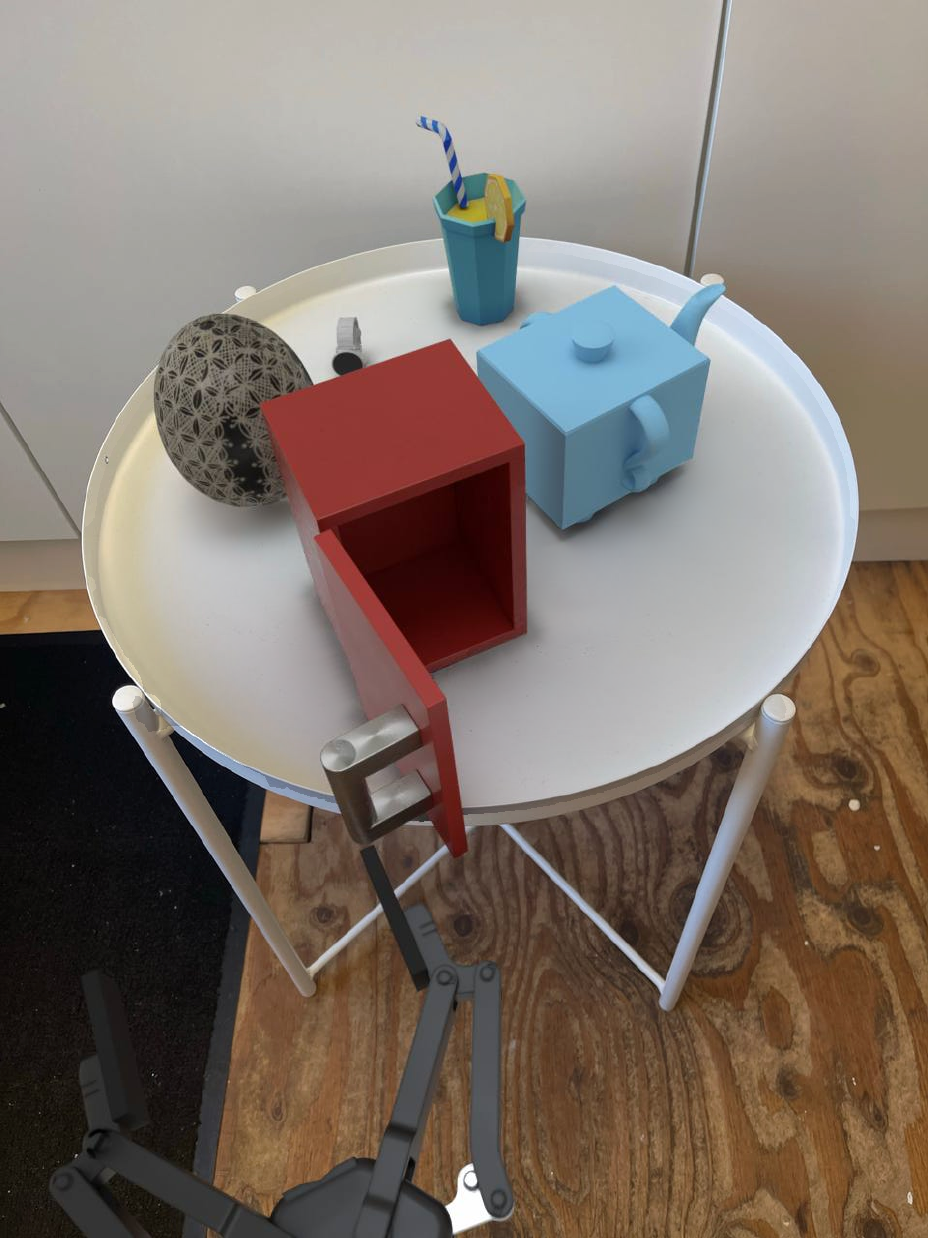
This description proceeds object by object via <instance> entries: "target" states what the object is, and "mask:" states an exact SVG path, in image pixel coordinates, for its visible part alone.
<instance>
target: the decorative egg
mask: <svg viewBox="0 0 928 1238" xmlns="http://www.w3.org/2000/svg"><path fill="white" fill-rule="evenodd" d="M312 385H315V384H314V382H313V380H312V377H311V375H310V374H309V373H308V371H307V368H306V367H305V365H304V363H303V361H302V360H301V359H300V357H299V356H298V354H297V353H296V352H295V351H294V349H293V348H292V347H291V346H290V345H289V344H288V343H287V342H286V341H285V340H284V339H283V338H282V337H281V336H279V334H277V333H276V332H275V331H273V330H272V329H270V328H269V327H267V326H266V325H264V324H262V323H259V322H258V321H256V320H254V319H252V318H248V317H245V316H241V315H238V314H232V313H213V314H208V315H204V316H199V317H198V318H196V319H194V320H192V321H190V322H188V323H187V324H185V325H184V326H183V327H181V328H180V330H178V332H177V333H176V334H174V336H173V337H172V338H171V339H170V340H169V342H168V343H167V345H166V347H165V349H164V350H163V352H162V354H161V357H160V360H159V362H158V365H157V368H156V371H155V377H154V383H153V408H154V409H153V410H154V411H153V412H154V415H155V422H156V426H157V431H158V435H159V437H160V440H161V443H162V445H163V447H164V450H165V453H166V454H167V456H168V458H169V459H170V461H171V463H172V464H173V465H174V467H175V468H176V470H177V471H178V473H179V474H180V475H181V477H183V479H184V480H185V481H186V482H187V483H188V484H189V485H191V486H192V487H193V488H194V489H196V490H197V491H198V492H200V493H201V494H202V495H205V496H207V498H210V499H211V500H214V501H215V502H219V503H222V504H224V505H229V506H232V507H238V508H259V507H265V506H267V505H271V504H274V503H276V502H277V503H278V502H280V501H282V500H284V499H286V498H288V497H287V494H286V490H285V487H284V484H283V481H282V477H281V474H280V471H279V467H278V464H277V461H276V458H275V454H274V451H273V448H272V444H271V441H270V438H269V435H268V431H267V428H266V425H265V421H264V417H263V415H262V412H261V408H260V405H259V404H260V403H262V402H265V401H268V400H271V399H274V398H277V397H280V396H283V395H286V394H289V393H292V392H295V391H297V390H300V389H303V388H306V387H309V386H312Z"/></svg>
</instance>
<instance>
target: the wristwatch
mask: <svg viewBox="0 0 928 1238" xmlns="http://www.w3.org/2000/svg"><path fill="white" fill-rule="evenodd" d="M361 337H362V331H361V329H360V326H359V320H358V317H357V316H347V317H339V318H338V319H337V323H336V347H335V354H334V355H333V356H332V358H331V362H330V363H331V367H332V371H334V373H336V375H338V377H339V376H341V375H344V374H347V373H350V372H353V371H356V370H359V369H362V368H365V365H367V360H364V358H363V350H362V349H363V347H362V346H363V345H362V338H361Z"/></svg>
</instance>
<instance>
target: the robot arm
mask: <svg viewBox="0 0 928 1238" xmlns="http://www.w3.org/2000/svg"><path fill="white" fill-rule="evenodd" d="M359 853H360V856H361V859H362V862H363V864H364V866H365V869H366V872H367V874H368V877H369V879H370V882H371V884H372V886H373V889H374V892H375V894H376V896H377V898H378V900H379V903H380V906H381V908H382V910H383V913H384V915H385V918H386V920H387V922H388V925H389V928H390V930H391V933H392V934H393V937H394V939H395V942H396V944H397V946H398V949H399V951H400V954H401V956H402V958H403V961H404V964H405V966H406V968H407V970H408V973H409V976H410V977H411V981H412V983H413V985H414V987H415V990H416V992H417V993H420V992H422V991H423V990H425V989H426V993H425V996H424V1001H423V1004H422V1007H421V1011H420V1014H419V1018H418V1021H417V1025H416V1028H415V1031H414V1035H413V1038H412V1042H411V1046H410V1048H409V1052H408V1056H407V1059H406V1062H405V1065H404V1069H403V1073H402V1076H401V1080H400V1084H399V1086H398V1091H397V1093H396V1097H395V1101H394V1104H393V1107H392V1111H391V1115H390V1118H389V1121H388V1123H387V1126H386V1127H385V1130H384V1132H383V1135H382V1138H381V1142H380V1145H379V1148H378V1152H377V1154H376V1155H377V1156H376V1159H375V1158H372V1157H355V1155H353V1156H351V1157H349V1158H347V1159H345V1160H344V1161H342V1162H340V1163H338V1164H335V1166H334V1167H332V1168H331V1169H330V1170H329V1171H328V1172H327V1173H326V1174H325V1175H323V1176H322V1177H321V1178H320V1179H318V1180H313V1181H308V1182H302V1183H299V1184H297V1185H295V1186H293V1187H291V1188H290V1189H289V1188H288V1189H287V1190H286V1191H284V1192H282V1197H280V1199H279V1200H278V1201H277V1203H276V1204H275V1206H274V1207H273V1209H272V1211H271V1212H270V1215H269V1216H267V1215H266V1214H264V1213H262V1212H260V1211H259V1210H257V1209H255V1208H254V1207H253V1208H252V1207H251V1206H250V1205H247V1204H246V1203H245V1202H242V1201H241V1200H239V1199H237V1198H236V1197H234V1196H232V1195H230V1194H228V1193H227V1192H226V1191H223V1190H222V1189H221V1188H218V1187H217V1186H215V1185H213V1184H212V1183H210V1182H208V1181H207V1180H205V1179H203V1178H201V1177H200V1176H198V1175H196V1174H194V1173H193V1172H191V1171H190V1170H187V1169H186V1168H185V1167H183V1166H181V1165H179V1164H177V1163H176V1162H174V1161H173V1160H170V1159H168V1158H167V1157H165V1156H164V1155H162V1154H161V1153H158V1152H157V1151H155V1150H154V1149H152V1148H150V1147H148V1146H146V1145H145V1144H143V1143H141V1142H140V1141H138V1140H136V1139H134V1138H133V1136H132V1131H136V1130H138V1129H140V1128H142V1127H144V1126H146V1125H148V1124H151V1119H150V1116H149V1111H148V1107H147V1102H146V1099H145V1093H144V1089H143V1086H142V1085H143V1084H142V1082H141V1078H140V1073H139V1068H138V1064H137V1059H136V1056H135V1051H134V1047H133V1043H132V1039H131V1034H130V1030H129V1026H128V1021H127V1018H126V1013H125V1009H124V1003H123V1000H122V995H121V992H120V987H119V984H117V983H116V982H115V981H113V980H112V979H111V978H110V977H108V976H107V975H105V973H103V972H102V971H101V970H99V969H98V968H96V969H93V970H92V971H89V972H87V973H85V974H83V975H81V976H80V977H81V983H82V988H83V992H84V997H85V1002H86V1007H87V1012H88V1015H89V1016H88V1017H89V1021H90V1026H91V1030H92V1034H93V1039H94V1044H95V1048H96V1049H95V1050H96V1052H97V1053H96V1054H94V1055H92V1056H90V1057H88V1058H86V1059H83V1060H81V1061H80V1063H79V1068H78V1075H77V1076H78V1081H79V1087H80V1090H81V1095H82V1100H83V1106H84V1111H85V1115H86V1120H87V1121H86V1122H87V1125H88V1126H87V1127H88V1131H86V1133H85V1134H84V1137H83V1138H82V1142H81V1143H82V1144H81V1145H82V1146H81V1148H82V1151H81V1152H80V1153H79V1154H78V1155H77V1156H76V1157H74V1158H73V1159H72V1161H71V1162H70V1163H68V1164H66V1165H63V1166H60V1167H58V1168H57V1169H56V1170H54V1171H53V1173H52V1175H51V1177H50V1178H49V1182H48V1190H49V1192H50V1195H51V1197H52V1198H54V1200H55V1201H56V1202H57V1204H58V1205H59V1206H60V1207H61V1208H62V1209H63V1211H64V1212H65V1213H66V1214H67V1216H68V1217H69V1218H70V1219H71V1220H72V1221H73V1223H74V1224H75V1225H76V1226H77V1227H78V1229H79V1230H80V1231H81V1232H82V1233H83V1235H84V1236H85V1237H86V1238H152V1237H151V1234H149V1232H147V1231H146V1230H145V1228H144V1227H143V1226H142V1224H140V1222H139V1221H138V1220H137V1219H136V1218H135V1216H133V1214H132V1213H131V1212H130V1211H129V1210H128V1209H127V1208H126V1206H125V1205H124V1204H123V1203H122V1201H120V1200H119V1199H118V1197H117V1196H116V1195H115V1194H114V1193H113V1191H111V1189H110V1188H109V1187H108V1186H107V1185H106V1183H107V1182H108V1181H109V1180H110V1179H112V1177H113V1176H114V1175H115V1174H118V1175H120V1176H121V1177H123V1178H125V1179H126V1180H128V1181H130V1182H131V1183H132V1184H135V1185H136V1186H138V1187H140V1188H142V1189H143V1190H144V1191H146V1192H148V1193H149V1194H151V1195H152V1196H154V1197H156V1198H157V1199H159V1200H161V1201H163V1202H164V1203H166V1204H168V1205H170V1206H172V1207H173V1208H174V1209H176V1210H178V1211H179V1212H181V1213H183V1214H185V1215H186V1216H188V1217H189V1218H191V1219H193V1220H195V1221H196V1222H198V1223H199V1224H200V1225H203V1226H205V1227H206V1228H207V1229H209V1230H211V1231H213V1232H215V1233H216V1234H218V1235H219V1236H220V1237H221V1238H455V1236H456V1235H458V1234H461V1233H463V1232H466V1231H468V1230H471V1229H474V1228H477V1227H479V1226H482V1225H483V1224H487V1223H489V1222H492V1221H495V1222H497V1223H503V1222H507V1221H508V1220H509V1219H511V1218H512V1216H513V1214H514V1212H515V1208H516V1203H515V1197H514V1193H513V1190H512V1186H511V1183H510V1180H509V1177H508V1173H507V1170H506V1167H505V1164H504V1160H503V1156H502V1071H503V1070H502V1067H503V1066H502V1064H503V1063H502V1059H503V1055H502V1054H503V982H502V973H501V968H500V967H499V965H498V964H497V963H496V962H495V961H493V960H489V959H485V960H481V961H479V962H478V963H474V964H459V963H457V962H456V961H454V960H453V959H452V958H451V956H450V954H449V952H448V950H447V948H446V945H445V943H444V942H443V939H442V936H441V935H440V932H439V929H438V928H437V926H436V923H435V921H434V918H433V916H432V914H431V912H430V910H429V909H428V908H427V907H426V906H425V904H423V903H422V902H421V901H420V902H418V903H416V904H414V905H412V906H409V907H408V908H405V909H402V907H401V905H400V902H399V900H398V897H397V895H396V892H395V890H394V888H393V886H392V884H391V881H390V879H389V877H388V874H387V872H386V870H385V867H384V865H383V862H382V859H381V858H380V856H379V852H378V851H377V848H376V846H375V844H372V845H370V846H366V847H365V848H363V849H360V850H359ZM463 1002H472V1023H471V1027H472V1028H471V1062H470V1063H471V1064H470V1065H471V1067H470V1072H471V1073H470V1101H469V1102H470V1106H469V1108H470V1109H469V1150H470V1158H471V1162H472V1163H470V1164H467V1165H465V1166H464V1167H462V1168H461V1170H460V1171H459V1172H458V1175H457V1191H456V1195H455V1197H454V1199H453V1200H452V1201H451V1202H450V1203H449V1204H447V1205H444V1203H443V1202H441V1200H439V1199H438V1198H436V1197H435V1196H433V1195H432V1194H430V1193H429V1192H427V1191H426V1190H424V1189H423V1188H422V1187H419V1186H418V1185H417V1184H415V1183H413V1182H414V1178H415V1174H416V1171H417V1167H418V1163H419V1159H420V1155H421V1151H422V1144H423V1138H424V1135H425V1131H426V1127H427V1123H428V1119H429V1118H430V1117H429V1116H430V1113H431V1109H432V1105H433V1102H434V1098H435V1094H436V1090H437V1087H438V1083H439V1080H440V1075H441V1072H442V1068H443V1064H444V1061H445V1057H446V1053H447V1050H448V1046H449V1042H450V1039H451V1034H452V1032H453V1031H452V1030H453V1028H454V1025H455V1024H454V1023H455V1020H456V1017H457V1012H458V1009H459V1006H460V1003H463Z"/></svg>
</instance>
